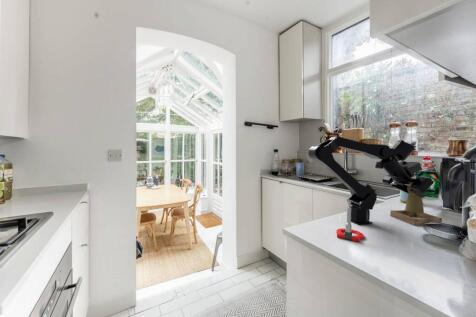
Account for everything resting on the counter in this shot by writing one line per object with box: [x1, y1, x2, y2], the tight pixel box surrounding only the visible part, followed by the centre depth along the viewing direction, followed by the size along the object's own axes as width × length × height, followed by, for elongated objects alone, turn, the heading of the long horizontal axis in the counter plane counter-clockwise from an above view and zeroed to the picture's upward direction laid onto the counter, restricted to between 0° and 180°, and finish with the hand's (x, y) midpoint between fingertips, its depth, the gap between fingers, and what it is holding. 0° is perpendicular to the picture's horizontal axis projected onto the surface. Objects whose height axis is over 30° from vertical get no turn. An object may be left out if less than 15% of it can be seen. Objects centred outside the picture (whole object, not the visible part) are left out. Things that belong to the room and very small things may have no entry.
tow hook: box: [335, 200, 365, 243], centre depth 72 cm, size 8×13×9 cm
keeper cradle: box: [389, 209, 443, 227], centre depth 87 cm, size 12×12×2 cm
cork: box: [404, 185, 425, 214], centre depth 86 cm, size 6×6×11 cm
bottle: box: [399, 175, 417, 204], centre depth 114 cm, size 7×7×15 cm
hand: (418, 195), depth 86 cm, fingers closed on cork, 5 cm apart
